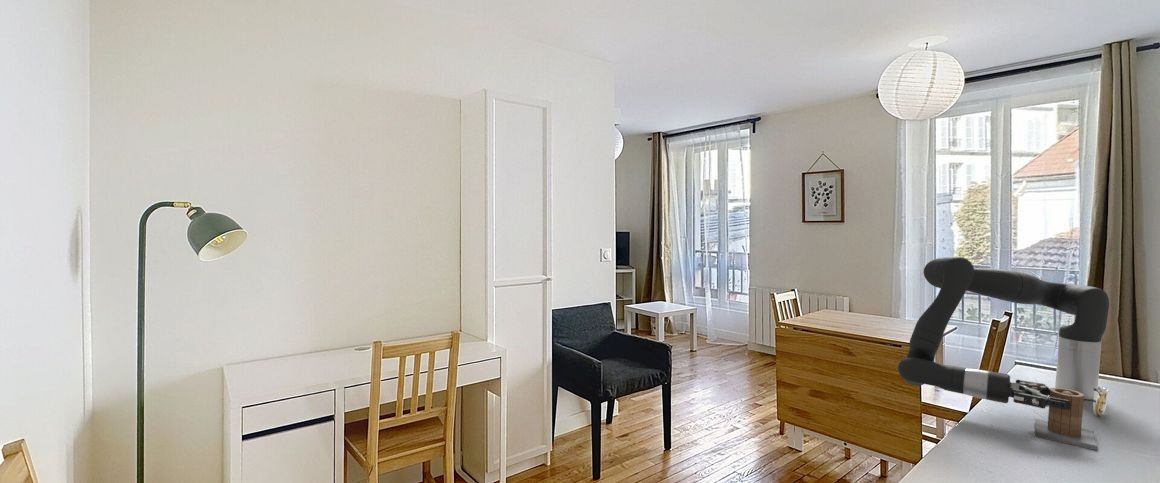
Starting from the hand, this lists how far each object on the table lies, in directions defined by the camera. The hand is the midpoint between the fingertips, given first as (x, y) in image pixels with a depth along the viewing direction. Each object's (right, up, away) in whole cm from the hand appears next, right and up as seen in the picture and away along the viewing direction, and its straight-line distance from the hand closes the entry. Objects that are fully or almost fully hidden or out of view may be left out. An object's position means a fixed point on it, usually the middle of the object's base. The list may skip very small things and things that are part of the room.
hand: (1069, 400), depth 127 cm
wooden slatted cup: (-1, -8, +1) cm, 8 cm away
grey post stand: (0, -9, +1) cm, 9 cm away
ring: (+21, -9, +14) cm, 26 cm away
